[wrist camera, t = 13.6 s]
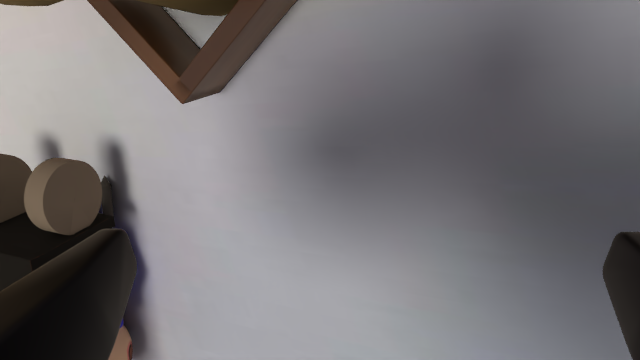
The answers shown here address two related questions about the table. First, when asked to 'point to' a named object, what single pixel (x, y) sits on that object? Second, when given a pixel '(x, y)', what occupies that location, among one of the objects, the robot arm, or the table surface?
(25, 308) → the robot arm
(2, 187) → the figurine character
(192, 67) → the frame
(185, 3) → the cork
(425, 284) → the table surface
